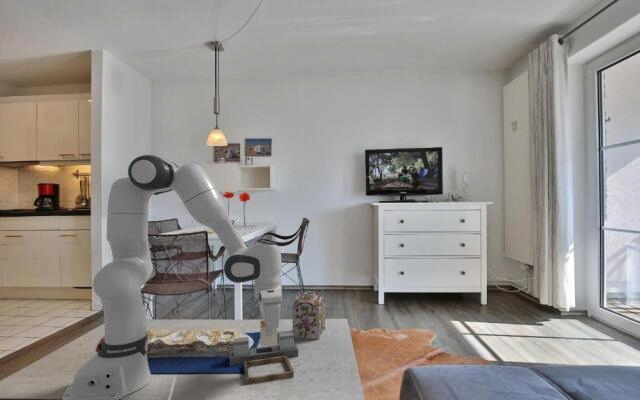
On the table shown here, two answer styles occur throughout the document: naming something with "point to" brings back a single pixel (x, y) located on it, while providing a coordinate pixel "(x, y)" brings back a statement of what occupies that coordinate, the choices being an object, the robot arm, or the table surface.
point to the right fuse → (286, 341)
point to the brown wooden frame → (271, 376)
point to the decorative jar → (309, 316)
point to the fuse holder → (262, 354)
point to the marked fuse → (267, 339)
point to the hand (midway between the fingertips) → (268, 332)
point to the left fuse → (241, 346)
